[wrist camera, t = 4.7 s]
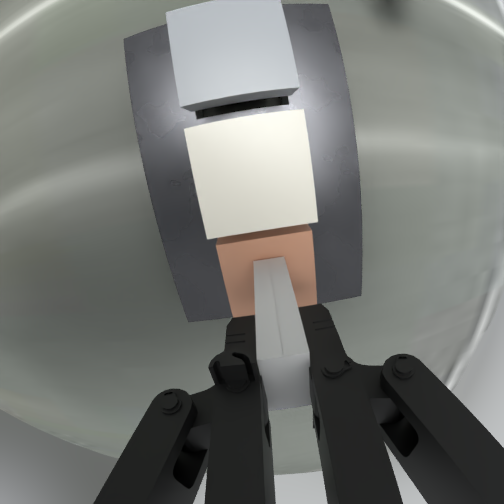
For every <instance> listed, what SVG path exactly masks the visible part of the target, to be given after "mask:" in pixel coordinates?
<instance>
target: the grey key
mask: <svg viewBox="0 0 504 504" xmlns="http://www.w3.org/2000/svg"><path fill="white" fill-rule="evenodd" d="M166 19H167V26H168V34H169V41H170V48H171V55H172V62H173V68H174V75H175V81H176V87H177V93H178V99H179V105H180V107H181V108H183V109H186V110H188V111H190V112H193V111H197V110H202V109H206V108H212V107H217V106H223V105H228V104H233V103H239V102H245V101H252V100H259V99H266V98H274V97H281V96H291V95H292V94H293V93H294V92H295V91H297V90H298V89H299V88H300V85H299V80H298V74H297V69H296V64H295V59H294V55H293V50H292V45H291V41H290V37H289V32H288V28H287V24H286V20H285V16H284V12H283V8H282V4H281V0H215V1H210V2H205V3H200V4H196V5H191V6H187V7H183V8H180V9H176V10H172V11H169V12H166Z"/></svg>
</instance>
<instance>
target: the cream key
mask: <svg viewBox="0 0 504 504" xmlns="http://www.w3.org/2000/svg"><path fill="white" fill-rule="evenodd" d="M184 132H185V137H186V143H187V148H188V153H189V158H190V163H191V168H192V173H193V177H194V182H195V187H196V192H197V196H198V201H199V205H200V210H201V214H202V219H203V223H204V228H205V232H206V236H207V239H213V238H219V237H225V236H231V235H237V234H243V233H250V232H256V231H262V230H269V229H275V228H281V227H288V226H295V225H301V224H308V223H315V222H318V217H317V206H316V196H315V187H314V178H313V170H312V162H311V154H310V147H309V140H308V133H307V126H306V120H305V113H304V109H299V110H289V111H280V112H271V113H264V114H257V115H250V116H244V117H238V118H232V119H227V120H222V121H216V122H211V123H207V124H202V125H198V126H193V127H189V128H185V129H184Z"/></svg>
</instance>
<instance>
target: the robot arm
mask: <svg viewBox="0 0 504 504" xmlns="http://www.w3.org/2000/svg"><path fill="white" fill-rule="evenodd" d="M253 266H254V295H255V315H249V316H242V317H234V318H232V320H231V321H230V322H229V324H228V325H227V330H226V340H225V350H224V352H222V353H220V354H218V355H216V356H215V357H214V358H213V359H212V360H211V362H210V364H209V367H208V368H209V370H210V373H211V375H212V378H213V380H214V383H215V385H214V386H212V387H211V388H209V389H207V390H205V391H202V392H199V393H195V394H192V395H189V394H188V393H187V392H186V391H183V390H181V389H169V390H165V391H163V392H161V393H160V394H158V395H157V396H156V397H155V398H154V400H153V401H152V403H151V404H150V406H149V408H148V409H147V411H146V413H145V415H144V416H143V418H142V420H141V421H140V423H139V425H138V427H137V428H136V430H135V432H134V434H133V435H132V437H131V439H130V440H129V442H128V444H127V446H126V447H125V449H124V451H123V453H122V454H121V456H120V458H119V460H118V461H117V463H116V465H115V467H114V468H113V470H112V472H111V474H110V475H109V477H108V479H107V481H106V482H105V484H104V486H103V488H102V489H101V491H100V493H99V495H98V496H97V498H96V500H95V502H94V504H193V502H194V500H195V497H196V495H197V491H198V490H199V487H200V484H201V482H202V479H203V477H204V474H205V472H206V469H207V480H206V492H205V504H276V502H275V486H274V471H273V456H272V441H271V426H270V421H269V416H268V411H273V410H281V409H288V408H295V407H301V406H307V405H311V403H312V408H313V428H315V432H316V437H317V443H318V448H319V454H320V460H321V466H322V471H323V477H324V484H325V490H326V496H327V502H328V504H403V502H402V498H401V495H400V491H399V488H398V485H397V481H396V478H395V475H394V471H393V469H392V465H391V462H390V459H389V456H388V453H387V449H386V446H385V443H386V445H387V446H388V447H389V449H390V450H391V452H392V453H393V455H394V456H395V457H396V459H397V460H398V461H399V463H400V465H401V466H402V467H403V469H404V470H405V472H406V473H407V475H408V476H409V478H410V479H411V480H412V482H413V483H414V485H415V486H416V487H417V489H418V490H419V492H420V493H421V495H422V496H423V498H424V499H425V501H426V502H427V503H428V504H504V448H503V447H502V446H501V445H500V443H499V442H498V441H497V440H496V439H495V438H494V437H493V436H492V435H491V433H490V432H489V431H488V430H487V429H486V428H485V427H484V426H483V425H482V424H481V423H480V421H478V420H477V418H476V417H475V416H474V415H473V414H472V413H471V412H470V411H469V410H468V409H467V408H466V407H465V406H464V405H463V404H462V403H461V401H460V400H459V399H458V398H457V397H456V396H455V395H454V394H453V393H452V392H451V391H450V390H449V389H448V388H447V387H446V386H445V385H444V384H443V383H442V382H441V381H440V380H439V379H438V378H437V377H436V376H435V375H434V374H433V373H432V372H431V371H430V370H429V369H428V368H427V367H426V366H425V365H424V364H423V363H422V362H421V361H420V360H419V359H417V358H416V357H414V356H412V355H408V354H397V355H394V356H391V357H390V358H388V359H387V360H386V361H385V363H384V365H383V366H368V365H361V364H358V363H356V362H354V361H353V360H352V359H351V358H349V357H348V356H347V354H346V353H345V350H344V348H343V345H342V343H341V340H340V338H339V335H338V332H337V330H336V327H335V325H334V323H333V320H332V318H331V315H330V313H329V310H328V309H326V308H325V307H324V306H323V305H322V304H315V305H309V306H303V307H298V306H297V302H296V298H295V294H294V291H293V287H292V283H291V279H290V276H289V272H288V269H287V265H286V261H285V258H284V256H283V257H277V258H271V259H264V260H258V261H253ZM384 442H385V443H384ZM207 467H208V468H207Z"/></svg>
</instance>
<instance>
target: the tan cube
mask: <svg viewBox="0 0 504 504" xmlns="http://www.w3.org/2000/svg"><path fill="white" fill-rule="evenodd" d="M216 249H217V253H218V257H219V262H220V266H221V270H222V274H223V279H224V283H225V287H226V291H227V295H228V299H229V303H230V307H231V311H232V315H233V318H234V317H242V316H249V315H255V295H254V266H253V261H258V260H264V259H271V258H277V257H283V256H284V258H285V261H286V265H287V269H288V272H289V276H290V279H291V283H292V287H293V291H294V294H295V298H296V302H297V306H298V307H303V306H309V305H315V304H317V291H316V275H315V260H314V247H313V236H312V230H311V228H310V227H309V225H308V224H301V225H295V226H288V227H281V228H275V229H269V230H262V231H256V232H250V233H243V234H237V235H231V236H225V237H219V238H218V239H217V243H216Z"/></svg>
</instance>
